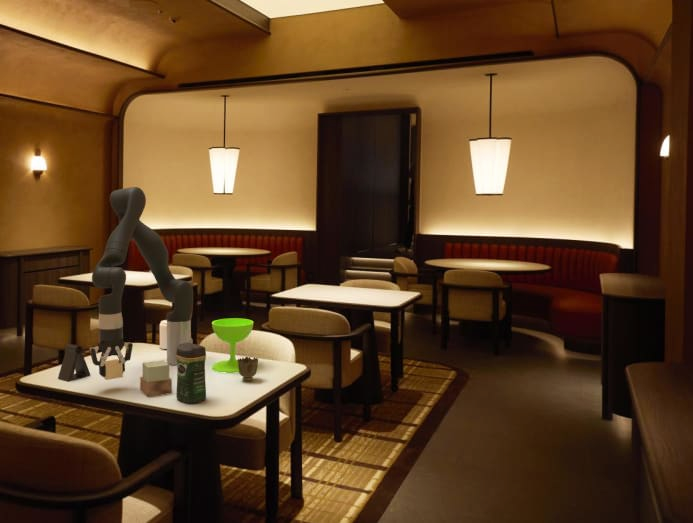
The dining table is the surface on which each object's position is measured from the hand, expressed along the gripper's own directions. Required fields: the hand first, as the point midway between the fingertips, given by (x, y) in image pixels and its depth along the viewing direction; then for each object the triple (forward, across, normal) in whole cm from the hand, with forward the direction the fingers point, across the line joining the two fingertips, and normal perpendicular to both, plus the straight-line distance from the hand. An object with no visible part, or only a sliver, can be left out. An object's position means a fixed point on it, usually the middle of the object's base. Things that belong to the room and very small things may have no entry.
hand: (112, 374), depth 201 cm
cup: (+6, -43, +15) cm, 46 cm away
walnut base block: (+6, -12, +10) cm, 16 cm away
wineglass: (+6, -46, -4) cm, 47 cm away
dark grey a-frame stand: (+6, +7, -22) cm, 24 cm away
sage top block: (+1, -11, +10) cm, 15 cm away
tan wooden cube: (+1, 0, 0) cm, 1 cm away
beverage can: (+6, -37, -47) cm, 60 cm away
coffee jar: (+6, -18, +24) cm, 31 cm away
